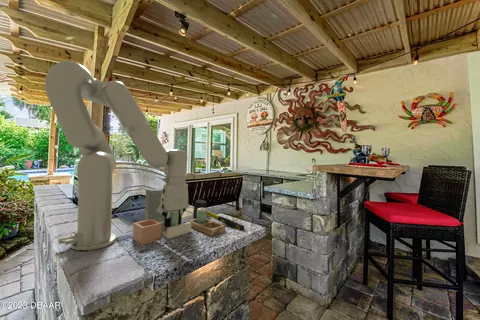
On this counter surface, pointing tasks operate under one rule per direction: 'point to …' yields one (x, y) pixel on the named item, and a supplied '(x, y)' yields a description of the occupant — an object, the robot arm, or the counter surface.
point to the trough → (208, 227)
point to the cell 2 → (201, 215)
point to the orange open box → (146, 231)
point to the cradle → (175, 229)
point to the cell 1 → (174, 217)
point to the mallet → (224, 220)
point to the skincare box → (153, 205)
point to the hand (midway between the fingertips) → (172, 225)
